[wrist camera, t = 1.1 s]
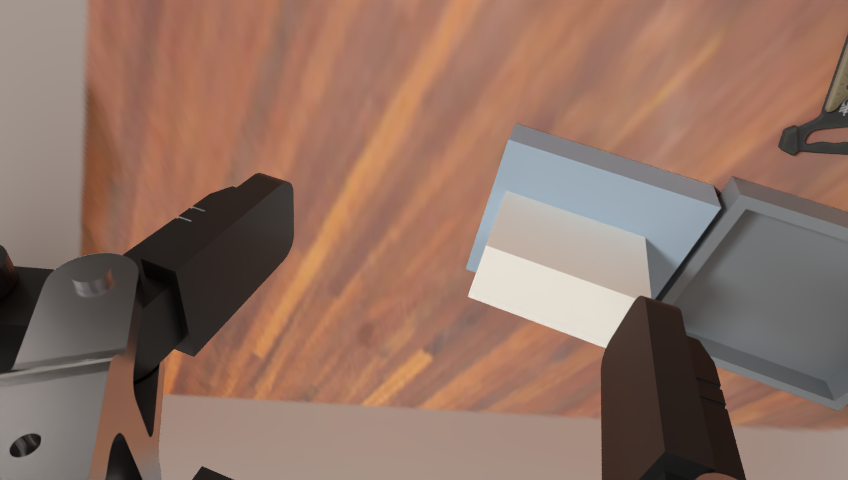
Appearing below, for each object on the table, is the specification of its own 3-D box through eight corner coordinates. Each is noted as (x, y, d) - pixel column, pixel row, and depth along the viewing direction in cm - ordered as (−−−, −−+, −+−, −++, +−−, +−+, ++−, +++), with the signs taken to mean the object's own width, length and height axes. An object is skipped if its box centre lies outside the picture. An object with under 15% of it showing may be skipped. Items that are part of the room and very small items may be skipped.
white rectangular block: (506, 190, 33) (485, 245, 28) (645, 237, 32) (652, 304, 26) (489, 238, 36) (467, 296, 31) (616, 283, 35) (617, 352, 29)
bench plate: (515, 123, 33) (508, 139, 31) (713, 185, 31) (721, 207, 29) (474, 248, 41) (465, 268, 38) (631, 304, 39) (632, 329, 37)
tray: (732, 176, 31) (740, 194, 29) (990, 256, 29) (1018, 281, 27) (634, 315, 39) (635, 336, 37) (826, 384, 37) (838, 410, 35)
